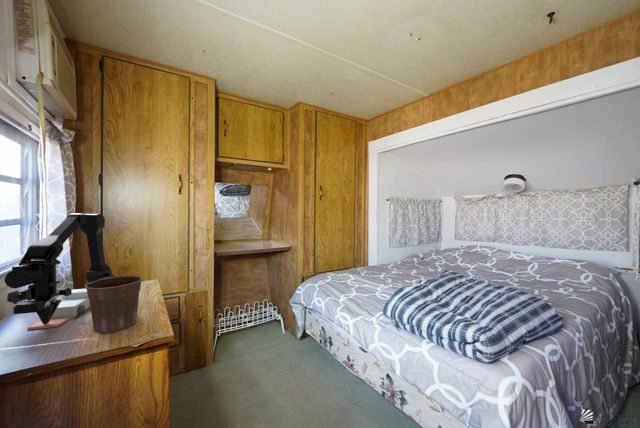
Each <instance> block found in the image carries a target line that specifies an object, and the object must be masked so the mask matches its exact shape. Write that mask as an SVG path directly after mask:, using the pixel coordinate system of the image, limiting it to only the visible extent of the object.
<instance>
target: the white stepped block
mask: <svg viewBox="0 0 640 428" xmlns="http://www.w3.org/2000/svg"><path fill="white" fill-rule="evenodd" d="M61 298H62V299H61V300H62V301H61V302H60V304H59V305H58V307H57V309H56V310H55V312H54V314H53V316H52V317H51V319H52V318H62V317H73V316H74V318H75V317H76V316H78V315H83V314H84V313H85V311H86V310H87V309H89V308H91V307H90V300H89V298H88V294H87V289H86V288H79V289H72V294H71V295H69V296H65V295H61Z"/></svg>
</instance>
